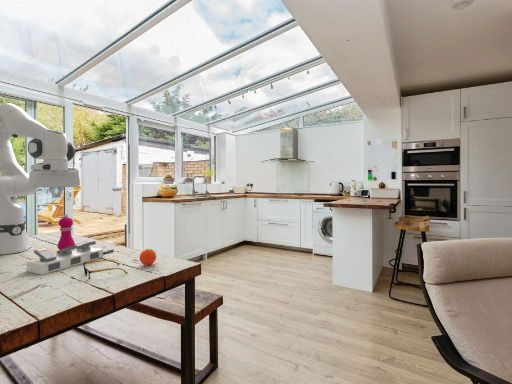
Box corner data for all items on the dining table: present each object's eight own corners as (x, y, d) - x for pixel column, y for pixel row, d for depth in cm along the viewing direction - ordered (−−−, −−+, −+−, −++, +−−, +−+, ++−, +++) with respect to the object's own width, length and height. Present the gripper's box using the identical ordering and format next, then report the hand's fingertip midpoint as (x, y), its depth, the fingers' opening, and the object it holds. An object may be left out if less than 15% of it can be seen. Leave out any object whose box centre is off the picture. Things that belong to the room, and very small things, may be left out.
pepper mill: (66, 256, 136) (65, 215, 135) (53, 255, 138) (53, 214, 137) (78, 252, 143) (78, 213, 142) (66, 252, 145) (65, 213, 144)
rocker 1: (33, 252, 117) (34, 249, 116) (43, 250, 120) (44, 247, 120) (46, 261, 114) (47, 258, 113) (56, 259, 117) (56, 256, 117)
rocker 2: (57, 254, 125) (56, 251, 125) (65, 252, 128) (65, 249, 128) (69, 249, 122) (68, 246, 122) (77, 248, 125) (76, 244, 125)
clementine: (154, 261, 131) (154, 245, 130) (161, 264, 126) (161, 248, 126) (137, 264, 125) (136, 248, 125) (143, 268, 120) (143, 251, 120)
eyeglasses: (81, 271, 116) (81, 261, 116) (119, 265, 125) (119, 256, 125) (86, 281, 105) (86, 271, 105) (128, 274, 114) (127, 264, 114)
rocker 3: (76, 249, 133) (76, 246, 133) (84, 248, 137) (83, 245, 137) (88, 245, 130) (87, 242, 130) (96, 243, 133) (95, 240, 134)
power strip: (26, 271, 115) (26, 258, 114) (106, 250, 149) (106, 240, 148) (42, 274, 111) (42, 261, 110) (120, 252, 145) (120, 242, 145)
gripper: (74, 167, 137) (74, 196, 137) (26, 165, 118) (26, 198, 118) (82, 167, 134) (83, 196, 135) (35, 165, 115) (36, 199, 116)
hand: (56, 197), depth 127 cm, fingers closed
